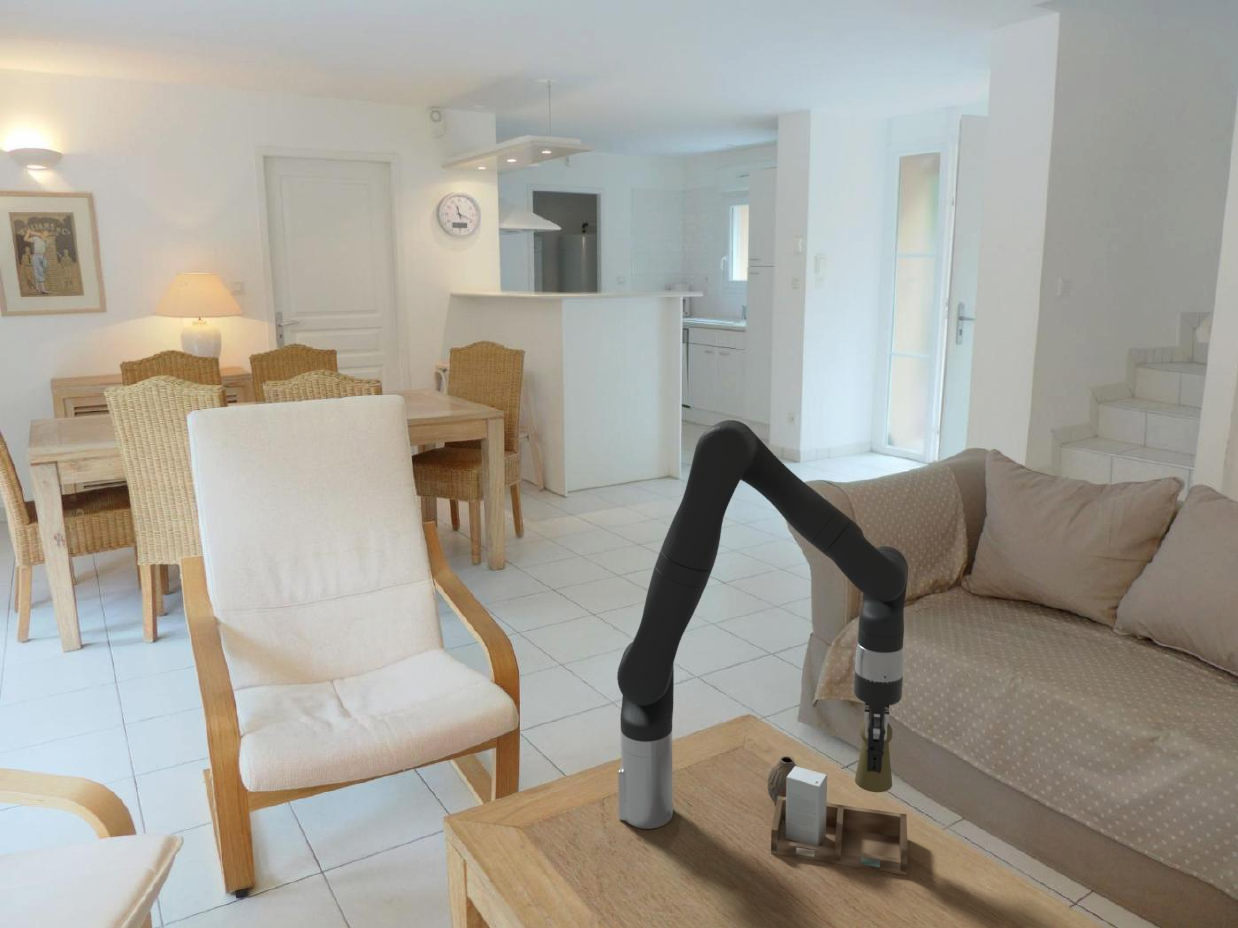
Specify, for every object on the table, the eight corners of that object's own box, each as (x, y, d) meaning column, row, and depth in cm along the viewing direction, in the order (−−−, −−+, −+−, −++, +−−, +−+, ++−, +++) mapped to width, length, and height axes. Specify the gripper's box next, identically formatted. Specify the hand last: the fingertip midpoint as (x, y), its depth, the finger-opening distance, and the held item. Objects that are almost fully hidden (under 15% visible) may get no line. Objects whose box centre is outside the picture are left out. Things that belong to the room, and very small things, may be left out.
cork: (872, 796, 147) (875, 735, 144) (847, 777, 152) (849, 718, 150) (900, 785, 150) (903, 725, 147) (874, 768, 155) (877, 709, 152)
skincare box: (826, 836, 157) (828, 774, 154) (818, 849, 153) (820, 786, 151) (793, 825, 160) (794, 764, 157) (784, 838, 156) (785, 776, 154)
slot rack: (770, 853, 153) (771, 829, 152) (777, 818, 163) (777, 795, 162) (906, 875, 147) (907, 850, 146) (904, 837, 157) (906, 814, 156)
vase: (804, 814, 164) (806, 771, 162) (766, 811, 165) (767, 768, 163) (804, 793, 170) (806, 751, 168) (767, 789, 172) (768, 747, 170)
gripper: (904, 692, 139) (898, 792, 143) (902, 653, 152) (896, 745, 156) (853, 686, 141) (849, 785, 145) (856, 649, 154) (852, 740, 158)
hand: (874, 764), depth 150 cm, fingers closed on cork, 3 cm apart
